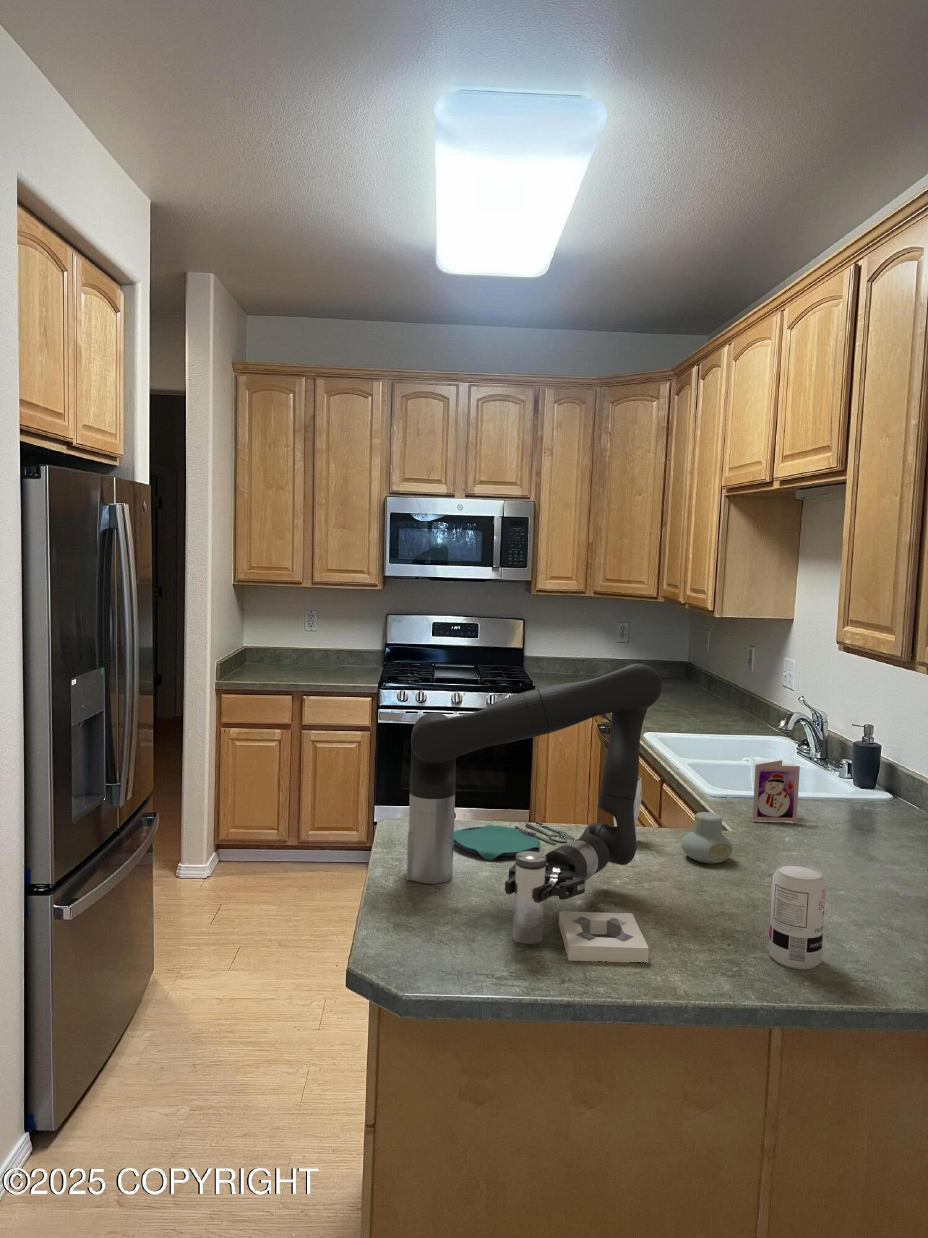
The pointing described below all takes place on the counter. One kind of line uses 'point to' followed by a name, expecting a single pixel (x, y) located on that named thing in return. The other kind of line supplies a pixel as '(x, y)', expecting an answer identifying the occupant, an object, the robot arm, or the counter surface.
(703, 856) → the air freshener
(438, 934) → the counter surface
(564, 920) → the mount plate
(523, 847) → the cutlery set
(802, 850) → the counter surface
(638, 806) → the beer glass
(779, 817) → the greeting card
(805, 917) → the supplement can
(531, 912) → the grey cylindrical piece
